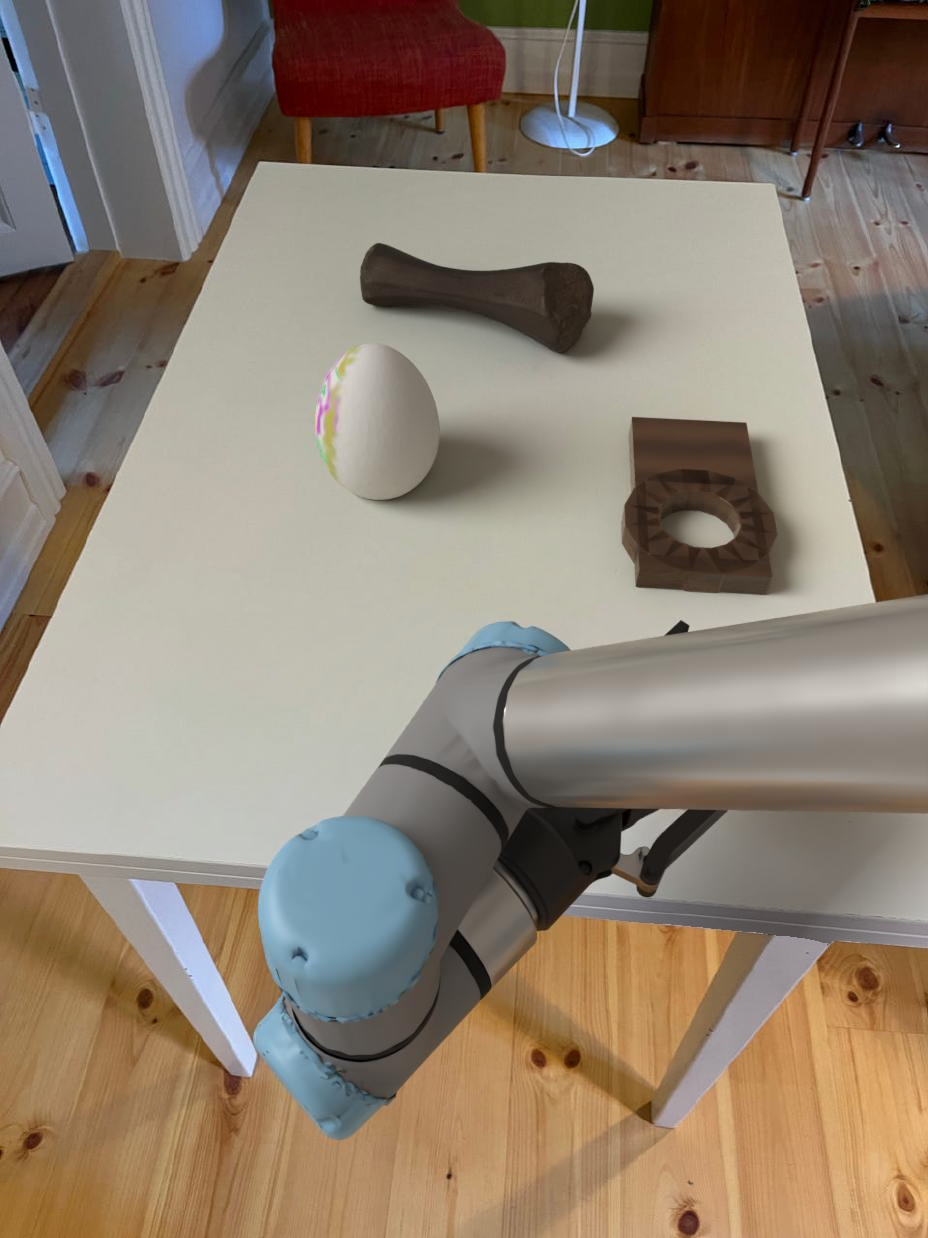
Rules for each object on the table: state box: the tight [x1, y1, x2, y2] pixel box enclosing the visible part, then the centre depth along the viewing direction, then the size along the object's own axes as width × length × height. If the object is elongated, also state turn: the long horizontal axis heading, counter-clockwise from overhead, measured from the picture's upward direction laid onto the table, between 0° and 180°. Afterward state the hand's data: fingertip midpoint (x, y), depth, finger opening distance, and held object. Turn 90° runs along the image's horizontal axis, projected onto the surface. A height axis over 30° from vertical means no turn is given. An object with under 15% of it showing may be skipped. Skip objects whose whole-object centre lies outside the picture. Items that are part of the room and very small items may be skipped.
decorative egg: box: [314, 342, 441, 501], centre depth 91 cm, size 12×12×15 cm
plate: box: [620, 416, 778, 596], centre depth 92 cm, size 22×14×2 cm, turn 175°
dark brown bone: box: [359, 242, 595, 353], centre depth 111 cm, size 11×10×28 cm
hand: (722, 661), depth 65 cm, fingers closed on pill bottle, 6 cm apart
